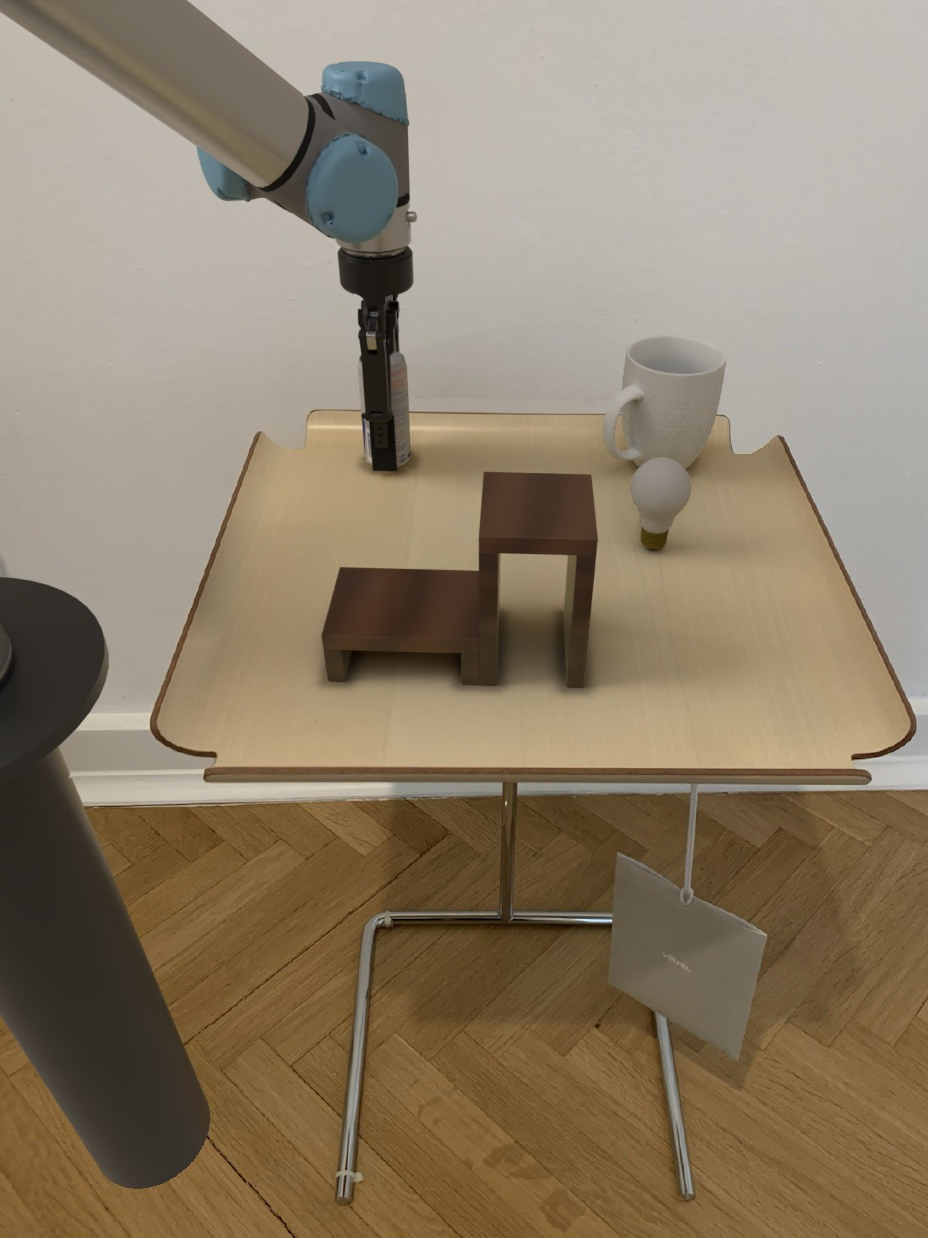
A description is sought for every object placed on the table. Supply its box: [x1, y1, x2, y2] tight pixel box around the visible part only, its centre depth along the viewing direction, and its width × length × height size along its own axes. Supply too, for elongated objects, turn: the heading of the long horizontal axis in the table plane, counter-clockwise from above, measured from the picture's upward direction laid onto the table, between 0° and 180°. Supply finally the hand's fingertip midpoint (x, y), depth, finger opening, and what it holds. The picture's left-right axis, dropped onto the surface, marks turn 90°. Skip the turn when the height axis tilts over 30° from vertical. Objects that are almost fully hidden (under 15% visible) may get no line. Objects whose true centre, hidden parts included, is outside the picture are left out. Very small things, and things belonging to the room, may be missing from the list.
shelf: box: [320, 471, 599, 689], centre depth 80 cm, size 22×10×15 cm, turn 89°
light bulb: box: [630, 457, 692, 551], centre depth 94 cm, size 6×6×10 cm
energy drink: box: [357, 351, 412, 469], centre depth 106 cm, size 5×5×12 cm
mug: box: [602, 334, 727, 470], centre depth 106 cm, size 15×11×13 cm
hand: (387, 456), depth 110 cm, fingers closed on energy drink, 5 cm apart
